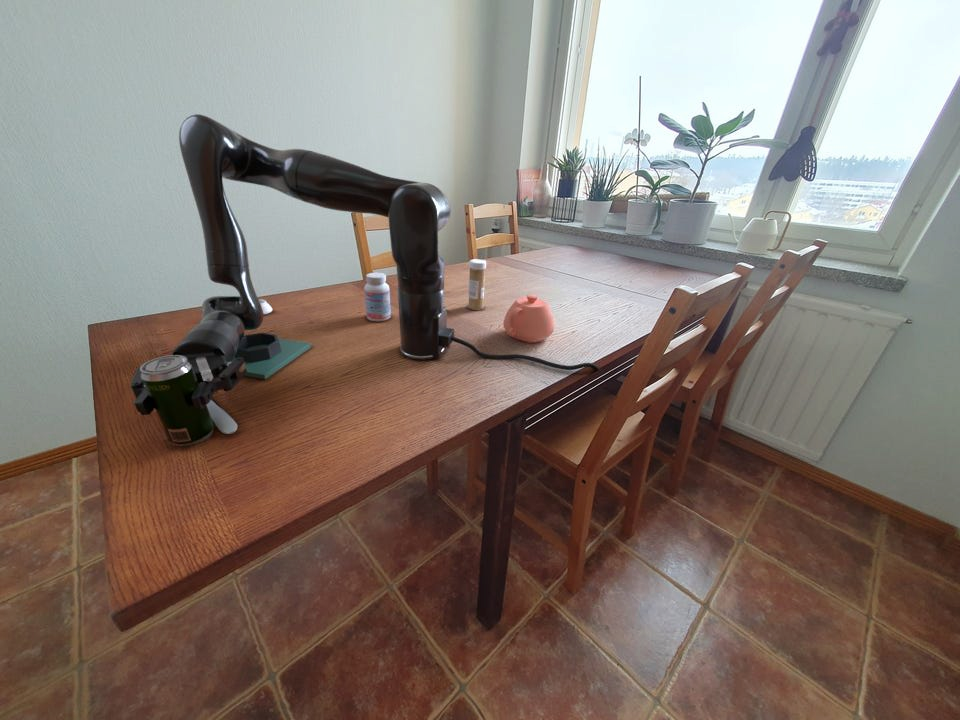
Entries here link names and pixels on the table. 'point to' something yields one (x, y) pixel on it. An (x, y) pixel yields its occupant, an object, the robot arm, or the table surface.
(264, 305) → the white truncated cone
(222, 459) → the table surface
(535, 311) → the sugar bowl
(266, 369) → the dock
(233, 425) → the butter knife
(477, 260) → the sprinkles bottle
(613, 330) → the table surface
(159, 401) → the beer can
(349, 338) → the table surface
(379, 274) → the pill bottle
